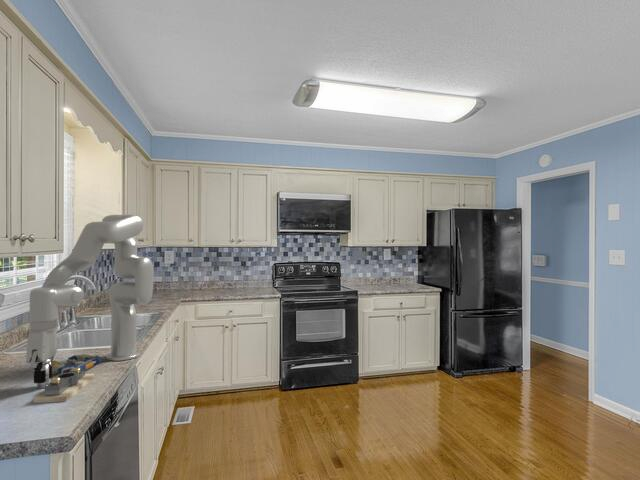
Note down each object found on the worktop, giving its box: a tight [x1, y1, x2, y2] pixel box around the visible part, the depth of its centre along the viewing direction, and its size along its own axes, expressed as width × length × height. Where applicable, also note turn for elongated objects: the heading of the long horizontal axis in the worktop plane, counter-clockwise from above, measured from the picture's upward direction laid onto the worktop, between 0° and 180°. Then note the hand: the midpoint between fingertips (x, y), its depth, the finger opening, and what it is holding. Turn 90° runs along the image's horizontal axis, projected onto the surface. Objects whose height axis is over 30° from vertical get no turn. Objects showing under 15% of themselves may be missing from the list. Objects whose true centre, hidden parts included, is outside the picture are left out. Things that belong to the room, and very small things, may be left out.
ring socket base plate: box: [33, 367, 95, 404], centre depth 122 cm, size 20×9×6 cm, turn 11°
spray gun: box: [52, 353, 103, 376], centre depth 142 cm, size 21×4×15 cm
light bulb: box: [36, 358, 51, 390], centre depth 124 cm, size 4×4×9 cm
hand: (43, 380), depth 124 cm, fingers closed on light bulb, 3 cm apart
